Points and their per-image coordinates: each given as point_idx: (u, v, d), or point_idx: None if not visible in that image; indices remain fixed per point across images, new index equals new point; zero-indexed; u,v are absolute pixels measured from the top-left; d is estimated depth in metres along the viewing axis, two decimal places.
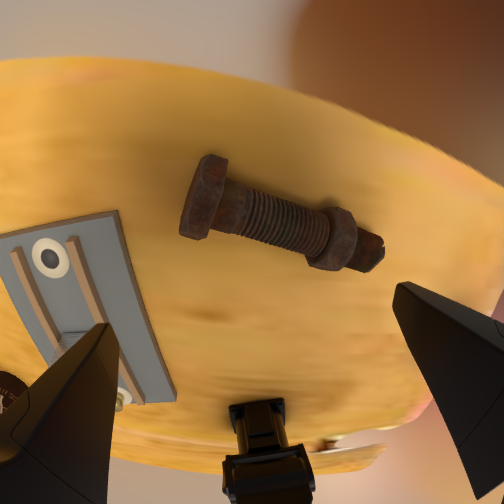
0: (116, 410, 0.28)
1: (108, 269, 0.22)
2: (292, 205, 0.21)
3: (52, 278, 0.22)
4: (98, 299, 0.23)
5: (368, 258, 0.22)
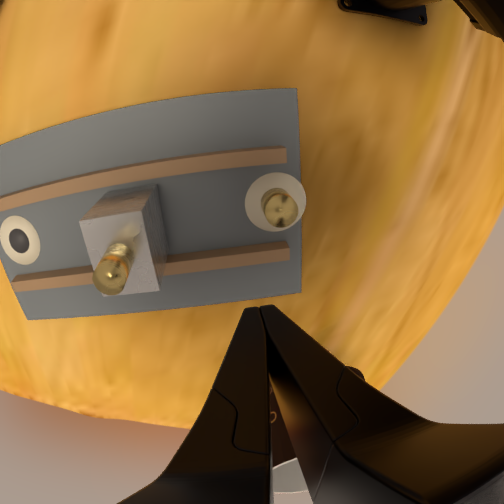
0: (294, 210, 0.17)
1: (17, 164, 0.15)
2: None
3: (40, 244, 0.17)
4: (50, 182, 0.15)
5: None
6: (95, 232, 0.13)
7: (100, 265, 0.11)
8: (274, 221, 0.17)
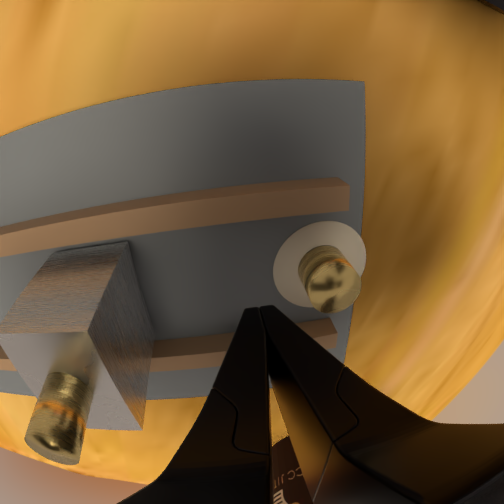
0: (355, 288, 0.10)
1: None
2: None
3: None
4: None
5: None
6: (22, 353, 0.06)
7: (31, 431, 0.05)
8: (323, 305, 0.10)
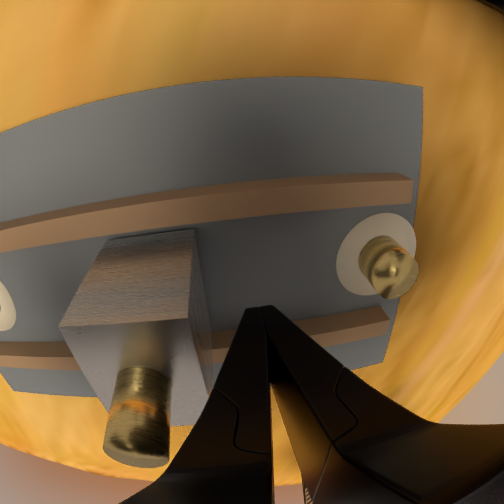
0: (413, 275, 0.10)
1: None
2: None
3: (15, 307, 0.11)
4: (18, 220, 0.09)
5: None
6: (93, 347, 0.06)
7: (116, 436, 0.05)
8: (385, 291, 0.10)
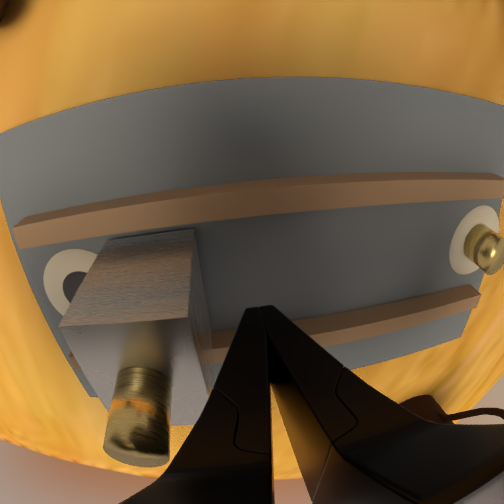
0: None
1: (89, 152, 0.09)
2: None
3: None
4: (168, 193, 0.09)
5: None
6: (93, 347, 0.06)
7: (117, 435, 0.05)
8: (488, 267, 0.11)
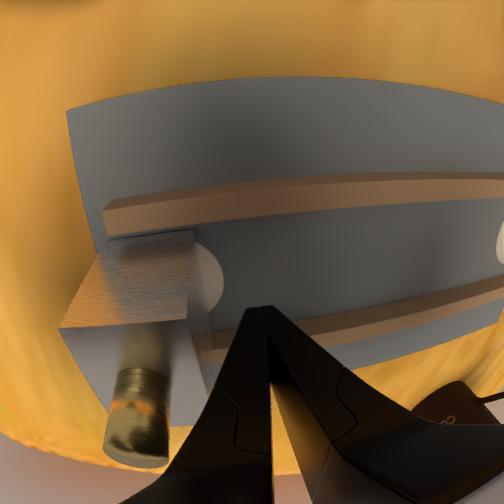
0: None
1: (200, 133, 0.09)
2: None
3: (224, 289, 0.11)
4: (286, 180, 0.09)
5: None
6: (93, 348, 0.06)
7: (116, 436, 0.05)
8: None
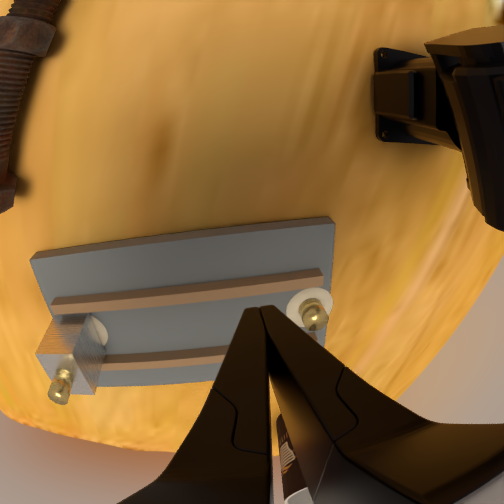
0: (325, 319, 0.21)
1: (83, 273, 0.19)
2: None
3: (108, 336, 0.21)
4: (121, 294, 0.20)
5: None
6: (46, 361, 0.16)
7: (51, 390, 0.15)
8: (310, 327, 0.22)
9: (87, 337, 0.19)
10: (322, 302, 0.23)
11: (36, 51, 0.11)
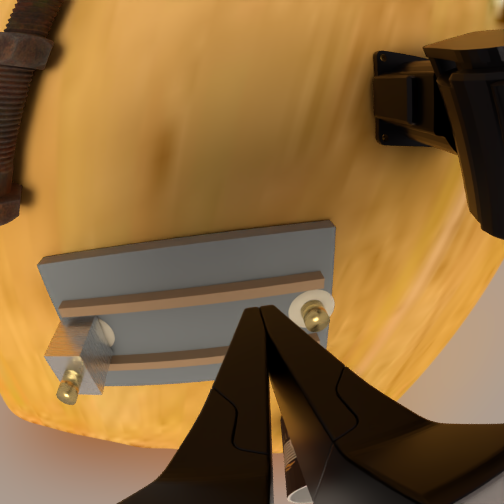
0: (326, 321, 0.22)
1: (90, 278, 0.20)
2: None
3: (115, 337, 0.22)
4: (126, 297, 0.20)
5: (24, 2, 0.09)
6: (55, 363, 0.17)
7: (59, 390, 0.16)
8: (311, 328, 0.22)
9: (94, 339, 0.20)
10: (324, 303, 0.23)
11: (35, 66, 0.12)
